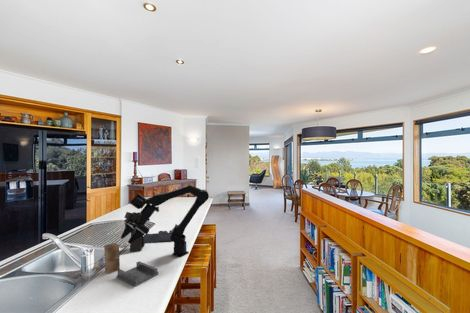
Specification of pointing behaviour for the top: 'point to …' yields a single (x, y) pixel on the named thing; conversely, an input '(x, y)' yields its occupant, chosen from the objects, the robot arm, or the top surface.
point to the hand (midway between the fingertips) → (124, 240)
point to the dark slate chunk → (158, 237)
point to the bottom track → (137, 274)
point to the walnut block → (112, 258)
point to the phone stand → (137, 244)
